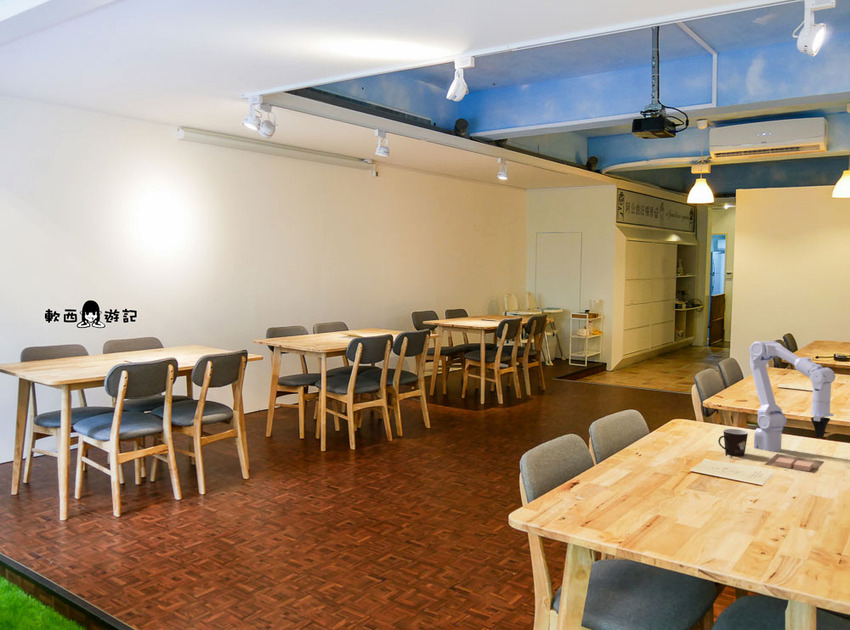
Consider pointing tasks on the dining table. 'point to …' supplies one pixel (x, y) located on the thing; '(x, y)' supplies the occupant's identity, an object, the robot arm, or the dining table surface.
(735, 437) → the coffee mug
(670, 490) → the dining table surface
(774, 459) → the board
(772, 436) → the robot arm
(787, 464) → the tile left
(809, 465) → the tile right
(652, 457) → the dining table surface
